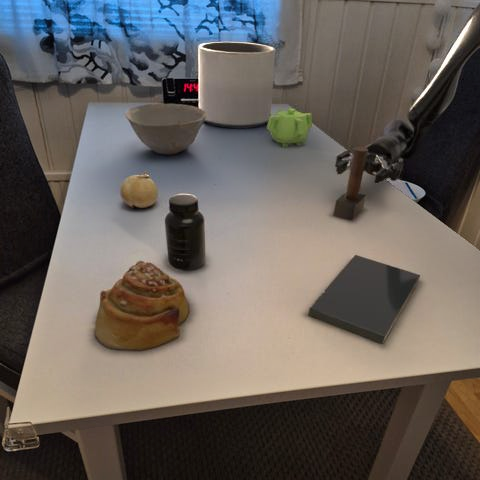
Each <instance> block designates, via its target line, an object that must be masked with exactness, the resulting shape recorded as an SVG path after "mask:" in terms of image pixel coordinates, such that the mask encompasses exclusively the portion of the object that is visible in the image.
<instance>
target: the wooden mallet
mask: <svg viewBox="0 0 480 480" xmlns="http://www.w3.org/2000/svg"><path fill="white" fill-rule="evenodd" d="M367 153H368V149H367V148H365V147H364V146H356V147H354V148H353V153H352V155H353V158H352V163H351V168H350V170H349V175H348V178H347V185H346V190H345V192H344V193H343V194H341V196H339V197H338V198H337V199H336V200H335V204H334V210H333V216H334V217H338V218H342V219H344V220H349V221H353V220H354V219H356V217H358V215H359V214H361V212H362V211H363V210H364V208H365V202H366V199H367V194H364V193H360V190H361V185H362V181H363V176H364V172H365V171H364V167H365V163H366V158H367Z"/></svg>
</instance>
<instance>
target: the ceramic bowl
mask: <svg viewBox="0 0 480 480" xmlns="http://www.w3.org/2000/svg"><path fill="white" fill-rule="evenodd" d="M124 114H125V118H126V119H127V121H128V123H129V125H130V126H131V127H132V129H133V131H134V134H135V135H136V136H137V138H138V140H140V142H141V143H142V144H144V145H145V146H146V147H148V148H149V149H150V150H152V151H154V152H155V153H157V154H159V155H167V156H168V155H175V154H178V153H181V152H184V151H185V150H186V149H188V148H189V147H191V145H192V144H193V143H194V142H195V140H196V139H197V136H198V134H199V131H200V130H201V127H202V126H203V124H204V122H206V121H205V119H206V117H207V112H206V111H204V110H203V109H199V107H197V106H194V105H189V104H181V103H177V104H176V103H147V104H142V105H138V106H137V105H136V106H133V107H131V108H129V109H127V110H126V111H125V112H124Z"/></svg>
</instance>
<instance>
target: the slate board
mask: <svg viewBox="0 0 480 480" xmlns="http://www.w3.org/2000/svg"><path fill="white" fill-rule="evenodd" d="M420 278H421V275H420V274H419V273H415V272H412V271H409V270H405V269H402V268H400V267H396V266H393V265H390V264H386V263H383V262H380V261H377V260H374V259H371V258H367V257H364V256H361V255H358V254H355V255H353V257H352V258H351V259H350V260H349V261H348V263H346V265H345V266H344V267H343V268H342V270H340V271H339V273H338V274H337V275H336V276H335V278H334V279H332V281H331V282H330V283H329V284H328V286H327V287H326V288H325V289H324V290H323V292H322V293H321V294H320V295H319V296H318V298H316V299H315V300H314V302H313V303H312V305H310V306H309V308H308V315H307V316H309V317H312V318H315V319H317V320H320V321H322V322H324V323H327V324H330V325H332V326H335V327H337V328H341V329H343V330H346V331H348V332H351V333H353V334H356V335H358V336H361V337H364V338H366V339H369V340H370V341H374V342H377V343H379V344H381V345H382V344H384V342H385V340H386V339H387V337H388V335H389V334H390V332H391V331H392V328H393V327H394V325H395V323H396V322H397V320H398V318H399V316H400V314H401V313H402V311H403V309H404V308H405V306H406V305H407V302H409V301H408V300H409V299H410V297H411V295H412V293H413V292H414V290H415V288H416V286H417V285H418V283H419V281H420Z"/></svg>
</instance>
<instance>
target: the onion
mask: <svg viewBox="0 0 480 480" xmlns="http://www.w3.org/2000/svg"><path fill="white" fill-rule="evenodd" d="M150 177H151V176H150V175H149V174H147V170H145V171H144V173H143V174H134V175H133V174H132V175H130V176H128V177H126V178H125V179H124V180H123V182H122V184H121V185H120V189H119V190H120V191H119V193H120V198H121V199H122V200H123V202H124V203H125V204H126V205H128V206H129V207H131V208H132V209H135V207H136V208H140V209H144V208H148V207H151V206H152V205H154V204H155V203H156V201H157V199H158V196H159V191H158V187H157V185H156V183H155V182H154V181H153V180H152V179H151V178H150Z"/></svg>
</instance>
